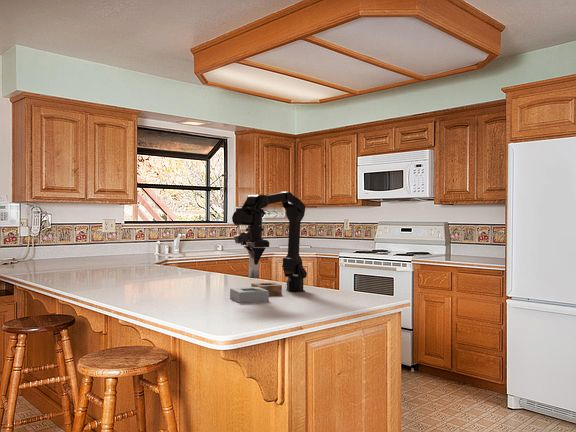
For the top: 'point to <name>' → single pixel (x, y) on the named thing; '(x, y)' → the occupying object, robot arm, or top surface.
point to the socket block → (249, 294)
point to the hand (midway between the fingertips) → (254, 264)
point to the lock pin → (253, 266)
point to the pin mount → (269, 287)
